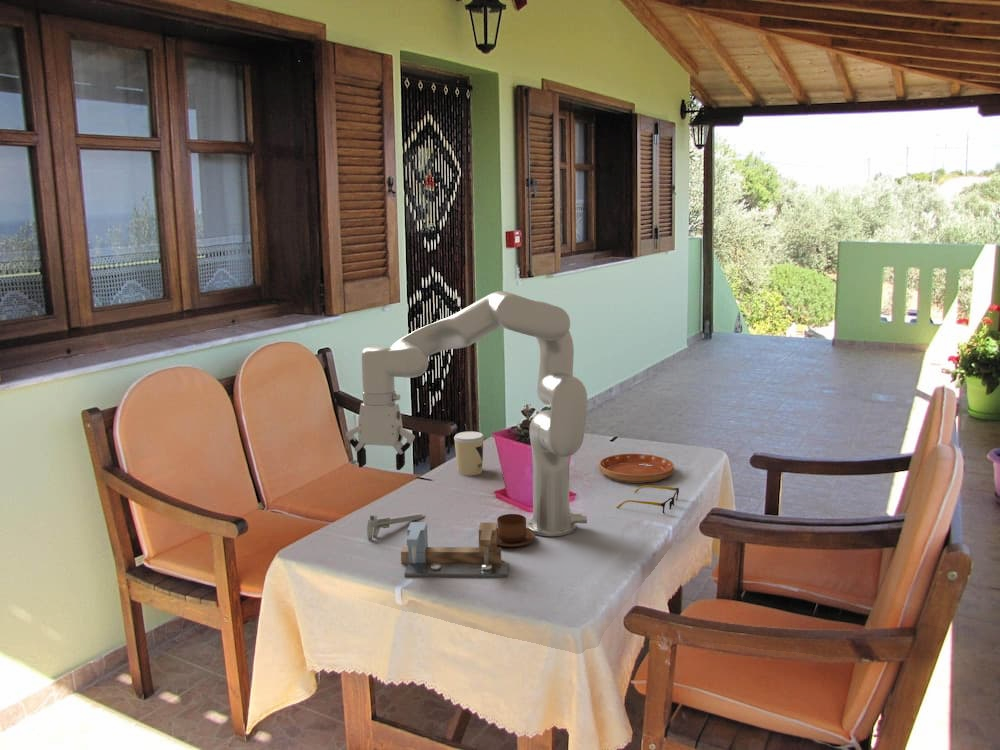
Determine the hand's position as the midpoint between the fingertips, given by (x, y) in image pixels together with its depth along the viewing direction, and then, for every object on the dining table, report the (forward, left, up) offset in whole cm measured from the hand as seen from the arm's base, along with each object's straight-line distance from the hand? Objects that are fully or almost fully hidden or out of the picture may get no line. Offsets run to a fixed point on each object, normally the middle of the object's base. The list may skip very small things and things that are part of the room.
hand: (381, 467), depth 225 cm
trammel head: (-9, +7, -22) cm, 25 cm away
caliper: (0, -18, -23) cm, 29 cm away
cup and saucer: (-31, -9, -23) cm, 40 cm away
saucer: (-67, -64, -23) cm, 95 cm away
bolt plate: (-19, +10, -23) cm, 31 cm away
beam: (-17, +7, -22) cm, 29 cm away
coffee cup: (-15, -66, -23) cm, 71 cm away
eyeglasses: (-68, -37, -23) cm, 81 cm away
